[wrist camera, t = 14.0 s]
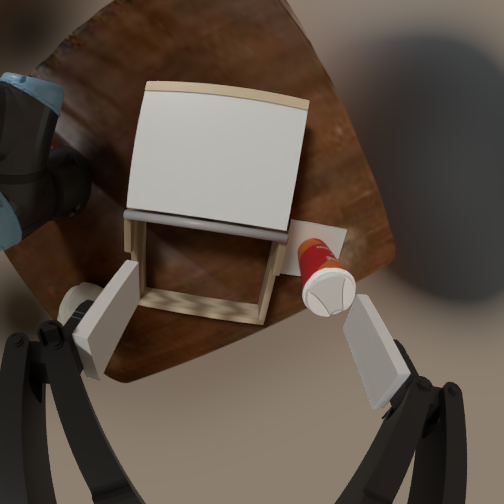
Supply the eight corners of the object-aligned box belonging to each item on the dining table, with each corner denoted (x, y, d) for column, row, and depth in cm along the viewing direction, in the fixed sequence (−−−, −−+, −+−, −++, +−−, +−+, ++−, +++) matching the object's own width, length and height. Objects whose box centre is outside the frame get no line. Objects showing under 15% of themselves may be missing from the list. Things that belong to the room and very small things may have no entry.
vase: (71, 271, 55) (41, 303, 43) (121, 282, 56) (96, 320, 44) (79, 316, 61) (56, 350, 49) (126, 329, 62) (107, 368, 50)
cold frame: (141, 290, 57) (128, 312, 50) (141, 198, 48) (124, 211, 41) (262, 309, 59) (263, 335, 52) (283, 219, 50) (289, 235, 43)
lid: (135, 210, 45) (123, 219, 40) (147, 82, 36) (135, 77, 31) (282, 232, 47) (286, 244, 42) (309, 101, 38) (317, 98, 33)
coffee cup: (338, 262, 53) (363, 307, 40) (299, 277, 55) (313, 326, 41) (325, 224, 50) (351, 263, 36) (284, 241, 51) (295, 285, 38)
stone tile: (278, 271, 55) (278, 273, 54) (290, 218, 50) (291, 219, 50) (330, 278, 56) (331, 280, 55) (346, 229, 51) (347, 230, 50)
